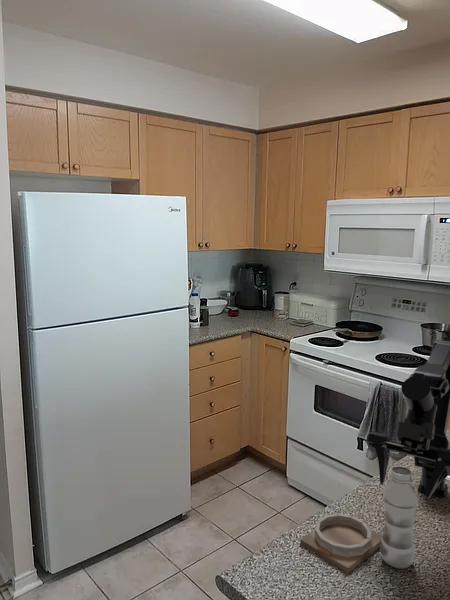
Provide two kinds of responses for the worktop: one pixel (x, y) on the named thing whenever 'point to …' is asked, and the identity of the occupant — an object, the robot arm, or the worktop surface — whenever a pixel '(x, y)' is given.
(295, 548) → the worktop surface
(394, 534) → the silver bottle
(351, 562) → the square coaster with ring
